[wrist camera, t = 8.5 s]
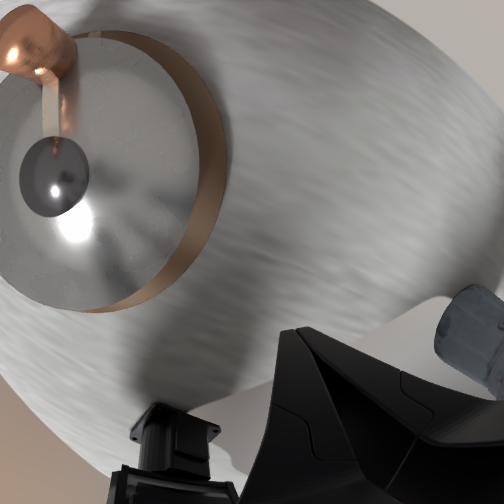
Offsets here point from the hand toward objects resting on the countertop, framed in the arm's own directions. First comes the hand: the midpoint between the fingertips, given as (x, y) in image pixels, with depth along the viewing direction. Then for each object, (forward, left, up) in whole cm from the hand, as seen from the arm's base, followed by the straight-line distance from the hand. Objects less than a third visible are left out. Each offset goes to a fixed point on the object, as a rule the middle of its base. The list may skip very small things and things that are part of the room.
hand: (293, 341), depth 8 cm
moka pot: (+6, -25, -11) cm, 28 cm away
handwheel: (-2, +11, -10) cm, 15 cm away
